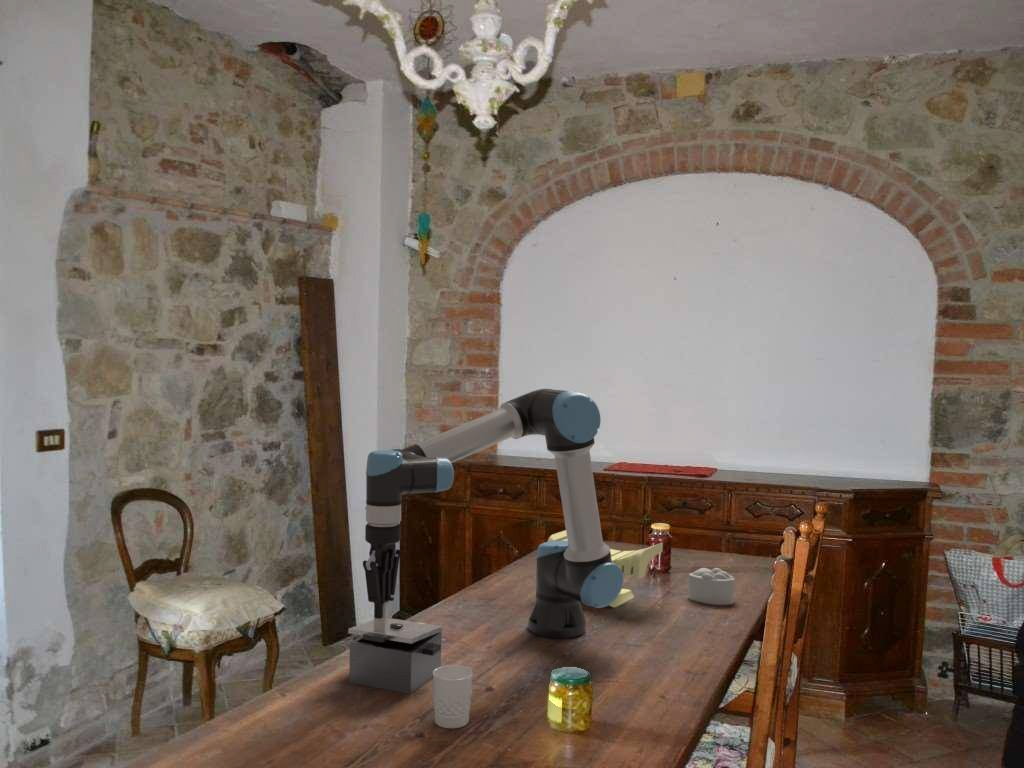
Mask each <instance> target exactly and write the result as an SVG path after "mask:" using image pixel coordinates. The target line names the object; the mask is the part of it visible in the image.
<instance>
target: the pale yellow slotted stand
mask: <svg viewBox="0 0 1024 768" xmlns="http://www.w3.org/2000/svg"><path fill="white" fill-rule="evenodd" d="M552 541H568V540H567V534H566V529H565V530H562V531H559V532H555V533H553V534H551V535H550V536H549V537H548V539H547V541H546V542H552ZM663 546H664V542H663V541H662V542H660V543H658V544H655V545H652V546H649V547H646V548H641V549H638V550H634V549H633V550H623V551H622V550H617V549H612V548H610V552H611V559H612V563H615V564H617V566H618V567H620V569H621V570H622V573H623V576H629V577H630V576H632V578H635V579H636V580H641V579H643V578H644V577H646V572H647V569H648V566H649V563H650V562H651V561H652V559H654V558H655V557H656V556H658V554H660V553H662V552H663V548H664V547H663ZM634 598H635V596H634V594H633V591H632V589H627V588H622V589H621V592H620V593H619V594H618V596H617V598H616V599H615V600H614V601H613V602H612V603H611V604H610V605H608V606H607V607H611V608H617V607H619V606H621V605H622V604H624V603H626V602H628V601H630V600H631V599H634Z"/></svg>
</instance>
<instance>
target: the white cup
mask: <svg viewBox="0 0 1024 768" xmlns="http://www.w3.org/2000/svg"><path fill="white" fill-rule="evenodd" d="M473 673H474V672H473V670H472V669H471V668H469V667H467V666H465V665H461V664H460V665H459V664H448V665H447V664H446V665H441V667H438V668H436V669H435V670H434V671H433V677H432V688H433V689H432V690H433V691H432V693H433V709H434V723H435V725H437V726H438V727H441V728H444V729H458V728H459V729H460V728H462V727H465V726H466V725H467V724H468V723H469V719H470V709H471V701H472V687H473V686H472V685H473Z"/></svg>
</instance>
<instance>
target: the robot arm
mask: <svg viewBox="0 0 1024 768" xmlns="http://www.w3.org/2000/svg"><path fill="white" fill-rule="evenodd" d="M601 419H602V418H601V413H600V409H599V406H598V405H597V403H596V402H595V401H594V400H593V399H592V398H591V397H589V395H587V394H584V393H582V392H578V391H576V390H563V389H562V390H561V389H553V388H541V389H536V390H533V391H529V392H527V393H525V394H523V395H520V396H517V397H515V398H512V399H510V400H508V401H505V402H503V403H501V404H500V406H499V409H496V410H494V411H492V412H489V413H487V414H484V415H482V416H480V417H478V418H475V419H473V420H470V421H468V422H465V423H463V424H461V425H458V426H456V427H454V428H451V429H449V430H446V431H444V432H442V433H441V432H440V433H439V434H436V435H434V436H432V437H429V438H427V439H424V440H422V441H420V442H417V443H415V444H413V445H412V444H411V445H409V446H407V447H404V448H402V449H400V448H391V449H387V450H385V449H380V450H373V451H371V452H370V453H369V454H368V455H367V461H366V469H365V476H366V480H365V481H366V482H365V483H366V484H365V485H366V487H365V488H366V489H365V491H366V495H365V496H366V498H365V499H366V500H365V508H364V509H365V522H366V523H367V524H366V525H365V528H364V530H365V532H364V533H365V534H364V535H365V537H364V539H365V542H366V543H369V544H370V548H369V552H368V553H369V554H368V555H369V557H368V559H367V560H365V559H364V560H363V561H362V567H363V569H364V573H365V583H366V591H367V601H368V602H369V603H373V605H374V607H373V608H374V609H373V610H374V612H373V618H374V619H373V620H374V632H379V633H386V632H388V618H390V616H389V612H390V610H389V609H390V608H389V607H390V602H393V601H394V599H395V597H394V596H395V594H396V587H397V578H398V573H399V562H400V558H401V554H402V550H401V549H396V544H397V543H399V542H401V539H402V537H401V536H402V535H401V533H402V530H401V529H402V525H401V524H400V522H401V521H402V498H403V497H402V496H403V495H412V494H422V493H423V494H425V493H427V494H428V493H435V494H436V493H438V492H439V493H440V492H444V491H448V490H450V489H451V488H452V486H453V483H454V479H455V470H454V466H453V464H452V463H455V462H458V461H460V460H461V459H464V458H466V457H469V456H471V455H473V454H476V453H479V452H481V451H482V450H485V449H487V448H490V447H492V446H494V445H497V444H498V443H502V442H505V440H508V439H510V438H512V439H514V440H518V439H521V438H523V437H526V436H532V435H535V436H536V435H537V436H539V435H541V436H544V437H545V444H546V450H547V451H548V452H549V453H551V454H552V455H553V456H554V459H555V460H554V461H555V467H556V473H557V479H558V486H559V493H560V499H561V507H562V513H563V519H564V525H565V530H566V534H567V540H568V541H552V542H547V541H545V542H543V543H540V544H539V545H538V546H537V551H536V557H535V559H536V574H535V575H536V576H535V579H536V580H535V584H536V585H535V599H534V603H533V605H532V608H531V611H530V614H529V617H528V625H527V626H528V630H529V631H530V632H531V633H533V634H535V635H538V636H540V637H545V638H553V639H569V638H575V637H578V636H581V635H583V634H584V633H586V630H587V621H586V617H585V612H584V610H583V607H582V604H584V605H585V606H588V607H593V608H597V609H602V608H605V607H609V606H608V605H610V604H611V603H612V602H613V601H614V600H615V599H616V598H617V596H618V594H619V593H620V592H621V589H623V585H624V575H623V573H622V570H621V569H620V567H618V566H617V564H615V563H612V559H611V552H610V549H611V548H610V546H609V545H608V544H606V543H605V542H604V541H603V534H602V528H601V527H602V526H601V520H600V514H599V507H598V500H597V493H596V486H595V478H594V473H593V465H592V459H591V449H592V448H593V446H594V445H595V437H596V435H597V434H598V429H600V428H601ZM392 596H393V597H392Z"/></svg>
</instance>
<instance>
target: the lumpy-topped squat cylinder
mask: <svg viewBox="0 0 1024 768" xmlns="http://www.w3.org/2000/svg"><path fill="white" fill-rule="evenodd" d="M735 583H736V579H735V577H734V576H733V575H730V574H729V573H728V572H727V571H725V570H722V569H721V568H719V567H714V568H712V569H710V568H707V567H701V568H699V569H697V570H695V571H693V572H690V573H689V574H688V589H687V590H688V596H687V598H688V599H689V600H691V601H693V602H698V603H702V604H707V605H713V606H716V605H717V606H727V605H728V606H729V605H733V604H734V603H735V587H736V584H735Z"/></svg>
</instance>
